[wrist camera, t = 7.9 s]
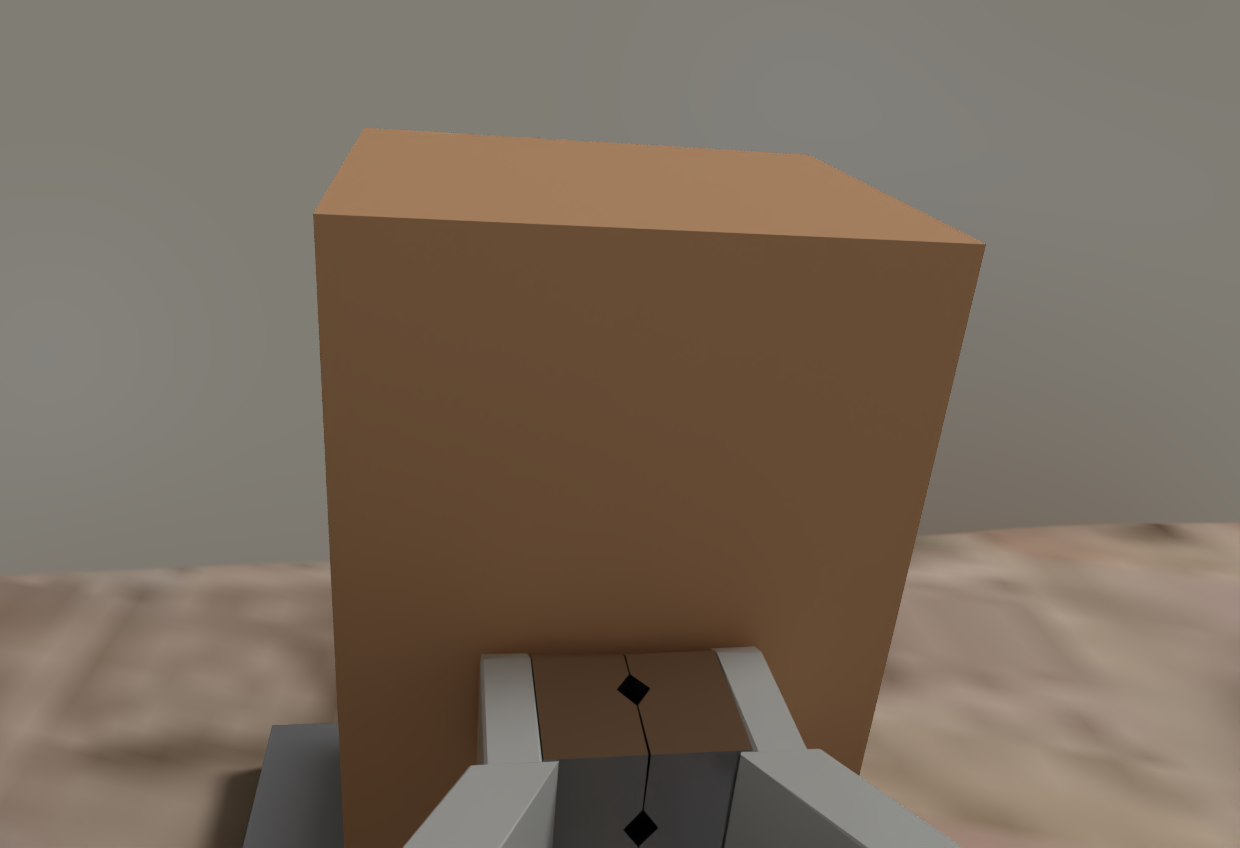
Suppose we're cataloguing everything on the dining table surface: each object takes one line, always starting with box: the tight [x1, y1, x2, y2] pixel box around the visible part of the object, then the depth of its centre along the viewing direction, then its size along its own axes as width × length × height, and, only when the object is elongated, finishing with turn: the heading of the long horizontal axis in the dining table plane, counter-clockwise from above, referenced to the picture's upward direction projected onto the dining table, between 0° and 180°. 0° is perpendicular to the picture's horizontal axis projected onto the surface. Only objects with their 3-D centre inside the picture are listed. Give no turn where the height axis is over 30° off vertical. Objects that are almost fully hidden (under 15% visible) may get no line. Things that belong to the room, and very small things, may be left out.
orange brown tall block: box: [313, 128, 986, 848], centre depth 14 cm, size 5×6×14 cm
